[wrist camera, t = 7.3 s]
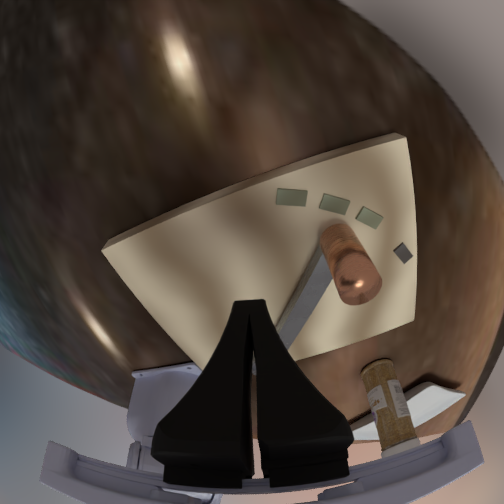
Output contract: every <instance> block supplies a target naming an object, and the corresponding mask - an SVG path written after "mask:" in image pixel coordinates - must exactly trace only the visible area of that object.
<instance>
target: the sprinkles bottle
mask: <svg viewBox="0 0 504 504" xmlns="http://www.w3.org/2000/svg"><path fill="white" fill-rule="evenodd" d="M361 378H362V379H363V381H364V385H365V388H366V392H367V397H368V400H369V404H370V407H371V411H372V415H373V418H374V422H375V426H376V428H377V432H378V436H379V440H380V444H381V447H382V449H381V451H382V453H381V456H382V458H385V457H388V456H391V455H394V454H397V453H400V452H403V451H406V450H409V449H412V448H415V447H417V446H420V445H421V444H420V441H419V439H418V438H417V435H416V433H415V429H414V426H413V423H412V419H411V414H410V411H409V408H408V405H407V402H406V399H405V396H404V394H403V391H402V388H401V385H400V382H399V381H398V379H397V376H396V374H395V370H394V368H393V362H392V361H391V360H388V359H381V360H378V361H375V362H373V363H371V364H369V365H368V366H367V367H365V368H364V369H363V371H362V372H361Z"/></svg>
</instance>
